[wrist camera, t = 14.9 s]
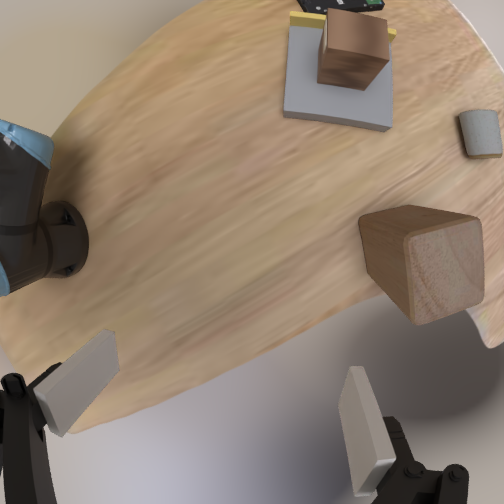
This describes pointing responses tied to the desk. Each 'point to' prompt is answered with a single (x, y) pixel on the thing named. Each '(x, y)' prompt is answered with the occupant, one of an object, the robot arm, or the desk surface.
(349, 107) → the dock
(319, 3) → the disk drive
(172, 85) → the desk surface
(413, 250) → the wooden block
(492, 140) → the ceramic mug
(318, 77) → the cardboard box
